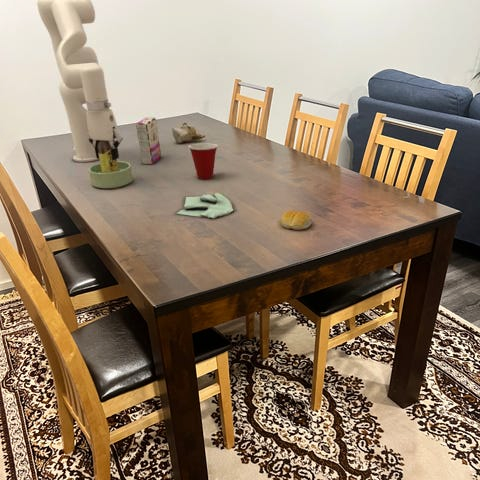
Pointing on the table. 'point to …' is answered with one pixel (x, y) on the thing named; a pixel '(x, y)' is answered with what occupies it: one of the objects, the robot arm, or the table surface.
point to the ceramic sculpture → (186, 133)
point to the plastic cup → (204, 159)
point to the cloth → (207, 206)
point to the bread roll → (296, 220)
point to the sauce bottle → (106, 157)
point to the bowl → (111, 176)
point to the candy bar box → (148, 140)
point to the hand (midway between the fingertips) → (107, 157)
